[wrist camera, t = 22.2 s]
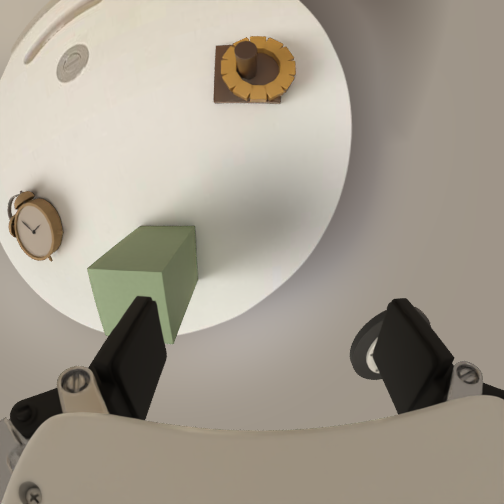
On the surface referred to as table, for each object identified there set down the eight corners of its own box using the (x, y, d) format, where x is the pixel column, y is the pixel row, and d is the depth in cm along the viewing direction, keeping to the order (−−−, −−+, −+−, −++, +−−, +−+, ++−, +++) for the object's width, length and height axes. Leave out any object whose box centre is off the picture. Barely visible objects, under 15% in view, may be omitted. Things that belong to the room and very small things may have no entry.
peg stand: (280, 48, 30) (288, 19, 21) (279, 104, 34) (288, 88, 24) (216, 48, 30) (205, 19, 21) (214, 103, 34) (201, 88, 24)
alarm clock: (46, 272, 40) (-4, 230, 34) (57, 259, 44) (9, 221, 39) (62, 227, 37) (7, 182, 31) (74, 217, 41) (22, 175, 35)
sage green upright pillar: (194, 225, 40) (161, 272, 25) (198, 280, 43) (173, 344, 28) (140, 226, 40) (86, 268, 25) (146, 277, 43) (105, 335, 28)
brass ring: (292, 42, 29) (294, 37, 27) (293, 103, 32) (296, 100, 30) (223, 42, 29) (221, 37, 27) (222, 102, 32) (220, 99, 31)
